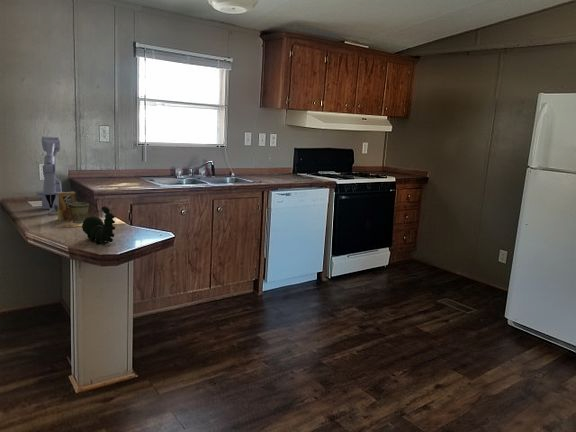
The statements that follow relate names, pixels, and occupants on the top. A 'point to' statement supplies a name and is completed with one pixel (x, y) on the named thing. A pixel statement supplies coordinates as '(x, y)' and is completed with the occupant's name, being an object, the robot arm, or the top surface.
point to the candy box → (65, 204)
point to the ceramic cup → (79, 211)
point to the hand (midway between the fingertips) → (51, 207)
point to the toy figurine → (99, 227)
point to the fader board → (53, 212)
